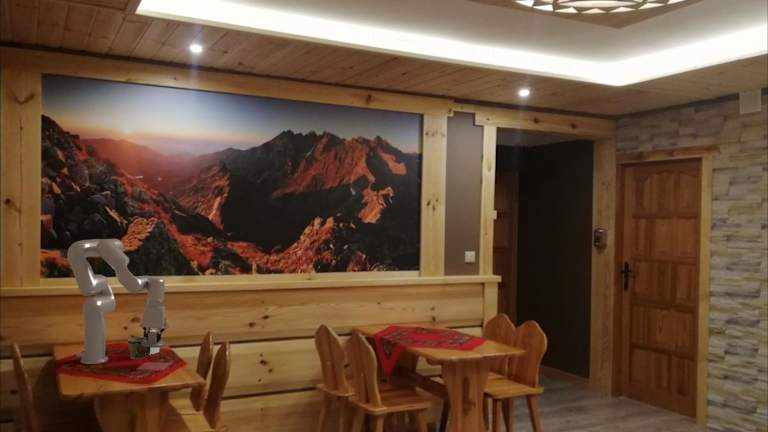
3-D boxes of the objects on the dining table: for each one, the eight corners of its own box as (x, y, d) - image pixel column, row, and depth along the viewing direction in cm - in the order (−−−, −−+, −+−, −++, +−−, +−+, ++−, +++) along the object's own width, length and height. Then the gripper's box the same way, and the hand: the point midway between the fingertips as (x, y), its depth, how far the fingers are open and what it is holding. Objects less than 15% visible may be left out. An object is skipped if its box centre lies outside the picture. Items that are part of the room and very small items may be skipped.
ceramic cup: (128, 356, 344) (128, 337, 344) (149, 356, 347) (149, 336, 346) (125, 363, 332) (125, 342, 331) (146, 362, 334) (147, 342, 334)
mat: (136, 370, 320) (136, 369, 320) (145, 363, 333) (145, 362, 333) (163, 371, 320) (163, 370, 320) (172, 364, 333) (172, 363, 333)
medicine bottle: (139, 353, 351) (139, 330, 351) (148, 350, 358) (149, 328, 357) (150, 355, 348) (150, 332, 348) (159, 352, 355) (159, 329, 355)
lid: (137, 346, 320) (138, 334, 320) (145, 341, 331) (146, 329, 331) (160, 348, 320) (161, 335, 320) (168, 342, 331) (169, 330, 331)
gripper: (135, 303, 321) (133, 342, 322) (170, 306, 321) (168, 344, 322) (140, 301, 329) (138, 338, 330) (175, 303, 329) (173, 340, 330)
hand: (153, 340), depth 326 cm, fingers closed on lid, 4 cm apart
